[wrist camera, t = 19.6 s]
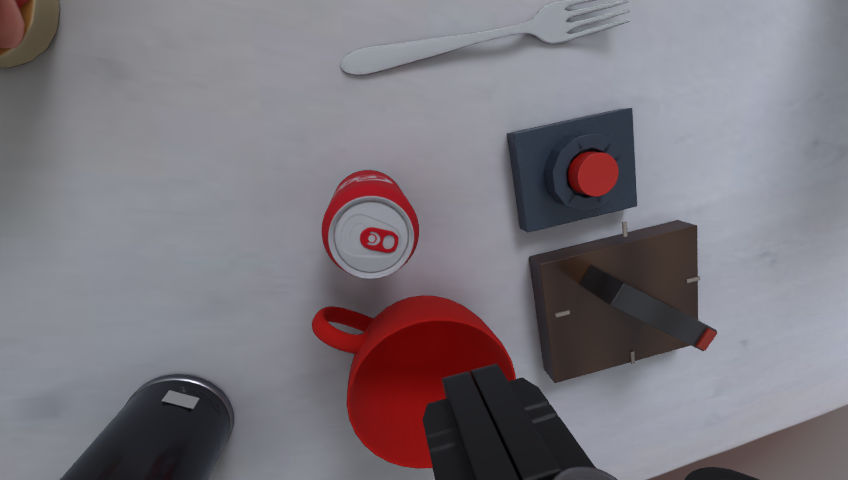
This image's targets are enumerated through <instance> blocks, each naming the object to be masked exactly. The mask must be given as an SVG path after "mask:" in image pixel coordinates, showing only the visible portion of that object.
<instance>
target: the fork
mask: <svg viewBox="0 0 848 480" xmlns="http://www.w3.org/2000/svg"><path fill="white" fill-rule="evenodd" d="M590 1H595V0H564V1H558V2H554V3H551V4H548V5H546V6H545V7H543V8H542V9H541V10H540V11H539V12H538V13H537V14H536V15H535V16H534V17H533V18H532V19H531V20H529V21H528V22H525V23H522V24H517V25H513V26H508V27H503V28H498V29H492V30H487V31H482V32H476V33H469V34H462V35H455V36H447V37H438V38H431V39H424V40H417V41H410V42H403V43H395V44H387V45H379V46H373V47H366V48H360V49H358V50H355V51H353V52H350V53H349V54H347V55H346V56H345V57H343V59H342V61H341V68H342V70H343V71H345V72H346V73H350V74H354V75H367V74H371V73H375V72H379V71H383V70H386V69H390V68H393V67H397V66H400V65H403V64H407V63H410V62H414V61H417V60H421V59H425V58H428V57H432V56H436V55H439V54H442V53H445V52H448V51H452V50H455V49H458V48H461V47H465V46H468V45H471V44H475V43H478V42H482V41H486V40H490V39H494V38H498V37H502V36H507V35H512V34H520V33H528V34H532V35H534V36H536V37H537V38H539V39H540V40H542V41H543V42H545V43H549V44H559V43H563V42H567V41H570V40H573V39H576V38H579V37H583V36H586V35H589V34H592V33H596V32H599V31H602V30H606V29H609V28H612V27H615V26H618V25H621V24H624V23H627V22H629V21H630V19H628V20H623V21H618V22H613V23H609V24H605V25H602V26H598V27H595V28H591V29H588V30H584V31H581V32H577V33H574V34H568V33H567V32H568V31H569V30H570V29H572V28H576V27H579V26H583V25H587V24H590V23H594V22H598V21H601V20H605V19H609V18H612V17H615V16H618V15H621V14H624V13H628V12H629V10H624V11H619V12H613V13H608V14H604V15H600V16H596V17H592V18H588V19H584V20H580V21H576V22H571V23H569V22H566V20H567V19H568V18H569V17H574V16H578V15H582V14H586V13H590V12H594V11H598V10H602V9H606V8H610V7H614V6H617V5H620V4H624V3H627V2H629V0H623V1H617V2H611V3H606V4H601V5H597V6H592V7H588V8H583V9H578V10H572V11H567V10H565V8H566V7H567V6H570V5H575V4H581V3H585V2H590Z"/></svg>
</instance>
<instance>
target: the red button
mask: <svg viewBox="0 0 848 480" xmlns="http://www.w3.org/2000/svg"><path fill="white" fill-rule="evenodd" d="M617 178H618V165H617V163H616V161H615V159H614V158H613V157H612V156H610V155H609V154H606V153H601V152H585V153H582V154H580V155H578V156H577V157H576V158H575V159H574V160H573V161H572V163H571V164H570V166H569V170H568V181H569V184H570V186H571V187H572V188H573V189H574V190H575V191H576V192H578V193H582V194H585V195H589V196H594V197H597V196H602V195H604V194H606V193H608V192H609V191H610V190H611V189H612V188H613V187H614V185H615V183H616V181H617Z"/></svg>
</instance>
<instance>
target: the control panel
mask: <svg viewBox="0 0 848 480" xmlns="http://www.w3.org/2000/svg"><path fill="white" fill-rule="evenodd" d="M622 229H623V234H620V235H616V236H612V237H608V238H604V239H600V240H596V241H591V242H587V243H583V244H579V245H575V246H571V247H567V248H563V249H559V250H555V251H551V252H547V253H543V254H539V255H535V256H530V257H529V259H530V267H531V274H532V282H533V289H534V297H535V304H536V312H537V320H538V327H539V335H540V342H541V350H542V357H543V365H544V370H545V371H546V373H547V374H548V375H549V376H550V378H551V379H552V380H553V382H554V383H557V382H561V381H564V380H568V379H571V378H575V377H579V376H582V375H586V374H589V373H593V372H597V371H600V370H604V369H607V368H611V367H615V366H618V365H622V364H625V363H629V362H631V364H633V363H635V361H636V360H640V359H643V358H647V357H651V356H654V355H658V354H661V353H665V352H669V351H672V350H676V349H679V348H683V347H687V346H690V345H689V344H687V343H685V342H683V341H681V340H679V339H677V338H675V337H673V336H671V335H669V334H667V333H665V332H663V331H661V330H659V329H657V328H655V327H653V326H651V325H649V324H647V323H645V322H643V321H641V320H638V319H636V318H634V317H632V316H630V315H628V314H626V313H624V312H622V311H620V310H618V309H616V308H614V307H612V306H610V305H609V304H607V303H606V302H604V301H603V300H601V299H600V298H598V297H597V296H595V295H594V294H593V293H591V292H590V291H588V290H587V289H585V288H584V287H582V286H581V285H580V282H581V280H582V279H583V277H584V275H585V274H586V272H587V270H588V269H589V267H590V266H591V265H594V266H596V267H598V268H599V269H601V270H603V271H605V272H607V273H609V274H611V275H613V276H615V277H617V278H619V279H621V280H623V281H625V282H627V283H629V284H630V285H632V286H634V287H636V288H638V289H640V290H642V291H644V292H646V293H648V294H650V295H652V296H654V297H656V298H658V299H660V300H661V301H663V302H665V303H667V304H669V305H671V306H673V307H675V308H677V309H679V310H680V311H682V312H684V313H686V314H688V315H690V316H691V317H693V318H695V319H697V320H698V280H700V276H698V267H697V225H693V224H690V223H686V222H682V221H679V220H677V221H673V222H669V223H665V224H661V225H657V226H652V227H648V228H644V229H640V230H636V231H632V232H628V233H627V222H622Z"/></svg>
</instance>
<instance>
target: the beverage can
mask: <svg viewBox="0 0 848 480" xmlns="http://www.w3.org/2000/svg"><path fill="white" fill-rule="evenodd" d="M418 237H419V224H418V219H417V216H416V214H415V211H414V209H413V208H412V206H411V204H410V203H409V201H408V200H407V198H406V197H405V195H404V194H403V192H402V191H401V189H400V188H399V187H398V185H397V184H396V183H395V181H394V180H392V179H391V178H390V177H389V176H387V175H385V174H383V173H381V172H377V171H372V170H364V171H359V172H356V173H353V174H351V175H349V176H348V177H346V178H345V179H344V180H343V181H342V182H341V183H340V184H339V186H338V187H337V189H336V191H335V193H334V195H333V198H332V200H331V202H330V204H329V206H328V209H327V211H326V213H325V215H324V219H323V223H322V239H323V243H324V246H325V249H326V251H327V253H328V255H329V257H330V258H331V259H332V261H333V262H334V263H335V264H336V265H337V266H338V267H339V268H341V269H342V270H344V271H345V272H347V273H349V274H351V275H354V276H357V277H360V278H366V279H377V278H382V277H385V276H388V275H390V274H392V273H394V272H395V271H397V270H398V269H400V268H401V267H402V266H404V265H405V264H406V263H407V262H408V260H409V259H410V258H411V256H412V254H413V253H414V251H415V248H416V246H417V242H418Z"/></svg>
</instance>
